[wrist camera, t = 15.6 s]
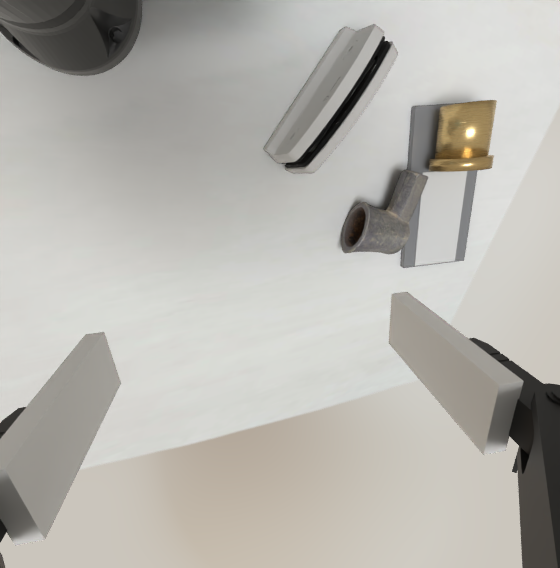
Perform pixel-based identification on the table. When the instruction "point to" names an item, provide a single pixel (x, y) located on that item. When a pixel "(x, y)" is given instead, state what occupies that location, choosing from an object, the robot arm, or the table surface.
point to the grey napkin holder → (332, 99)
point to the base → (436, 199)
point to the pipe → (384, 219)
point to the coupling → (464, 137)
